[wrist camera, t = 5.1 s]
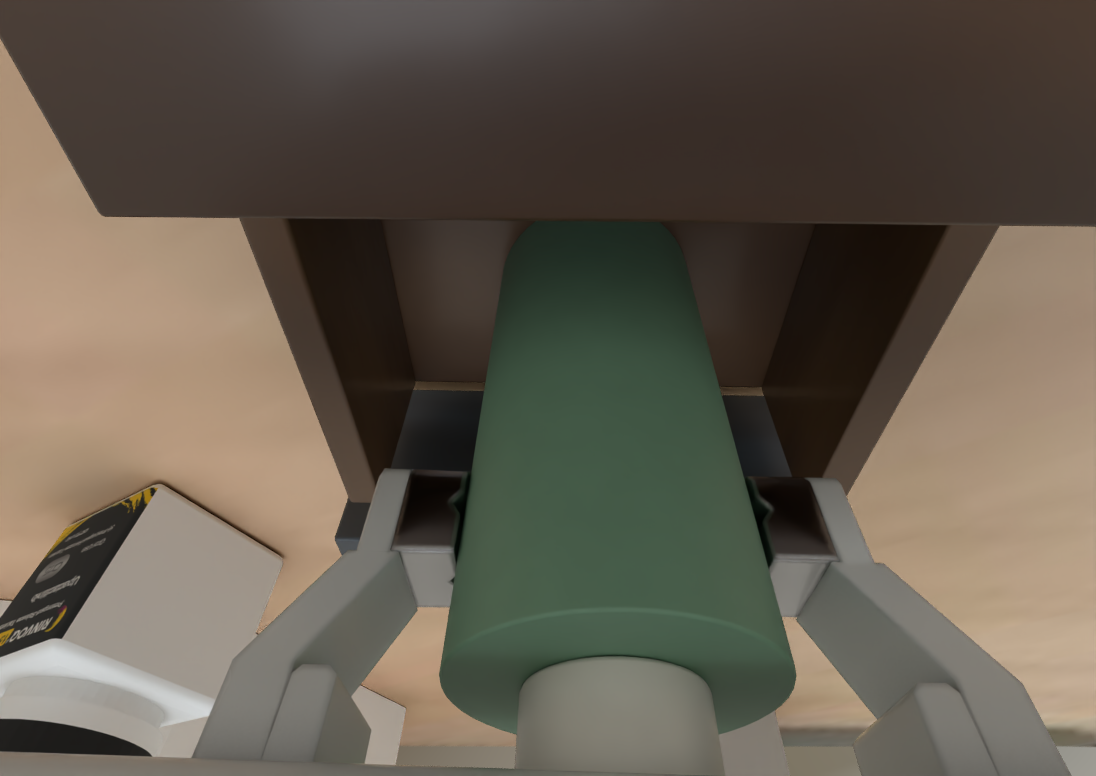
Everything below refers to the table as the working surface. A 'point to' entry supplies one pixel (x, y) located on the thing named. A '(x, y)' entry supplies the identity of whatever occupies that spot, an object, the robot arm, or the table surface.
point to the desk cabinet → (572, 108)
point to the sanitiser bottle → (609, 521)
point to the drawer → (723, 302)
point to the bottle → (754, 749)
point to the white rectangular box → (374, 707)
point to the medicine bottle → (129, 627)
